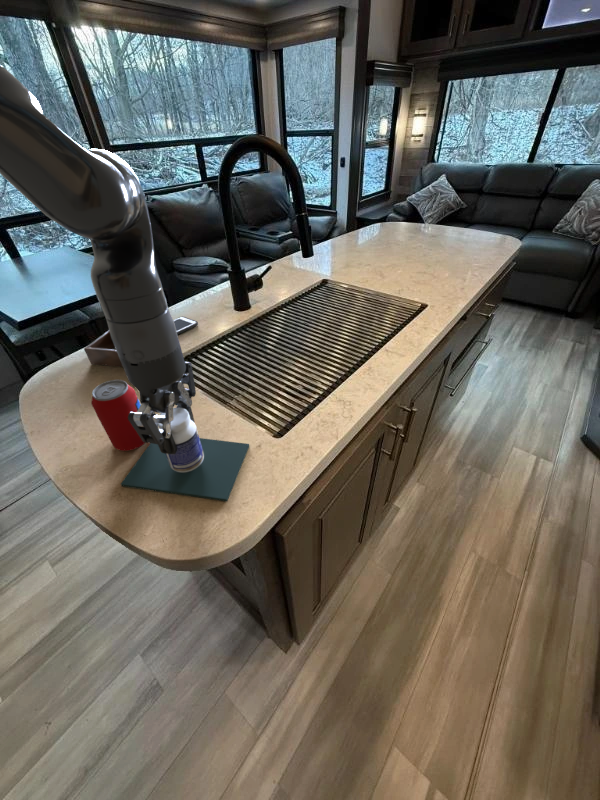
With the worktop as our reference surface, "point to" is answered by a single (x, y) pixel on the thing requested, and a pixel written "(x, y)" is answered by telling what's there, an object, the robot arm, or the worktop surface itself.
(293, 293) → the worktop surface
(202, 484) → the mat
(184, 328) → the cell phone
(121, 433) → the beverage can
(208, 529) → the worktop surface
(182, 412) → the pill bottle
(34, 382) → the worktop surface
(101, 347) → the divided tray
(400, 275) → the worktop surface
